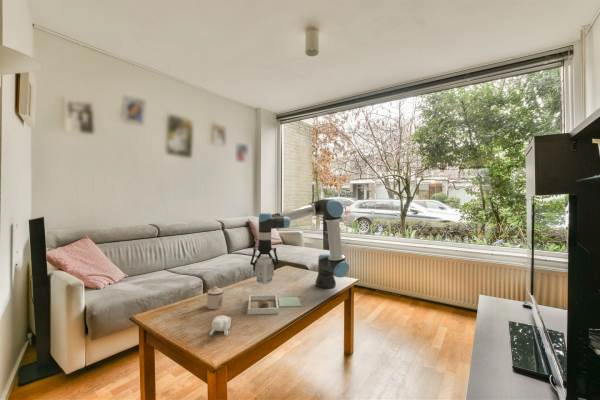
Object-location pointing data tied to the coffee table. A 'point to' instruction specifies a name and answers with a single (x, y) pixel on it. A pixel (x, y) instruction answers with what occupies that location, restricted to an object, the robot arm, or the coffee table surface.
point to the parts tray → (263, 310)
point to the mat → (289, 302)
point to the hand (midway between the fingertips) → (264, 275)
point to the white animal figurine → (221, 324)
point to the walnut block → (263, 304)
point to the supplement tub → (264, 270)
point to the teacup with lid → (215, 298)
